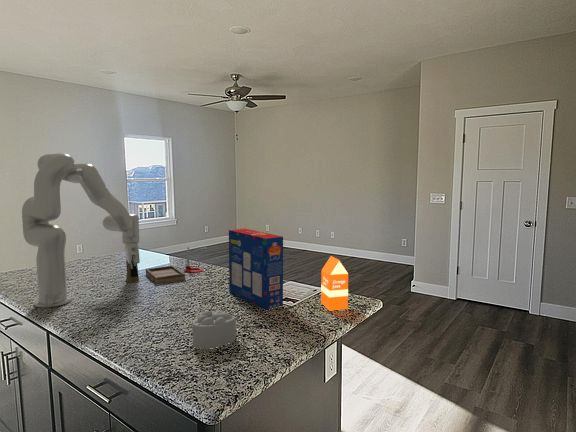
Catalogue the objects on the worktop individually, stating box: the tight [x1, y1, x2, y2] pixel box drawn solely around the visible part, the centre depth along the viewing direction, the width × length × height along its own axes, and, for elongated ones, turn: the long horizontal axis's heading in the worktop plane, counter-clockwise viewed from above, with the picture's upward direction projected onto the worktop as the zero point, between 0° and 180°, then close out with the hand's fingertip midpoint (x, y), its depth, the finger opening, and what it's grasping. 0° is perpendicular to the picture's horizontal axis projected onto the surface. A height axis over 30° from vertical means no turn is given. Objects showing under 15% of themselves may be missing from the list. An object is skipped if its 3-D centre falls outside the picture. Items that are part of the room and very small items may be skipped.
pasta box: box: [228, 228, 284, 311], centre depth 152 cm, size 28×8×28 cm, turn 39°
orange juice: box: [320, 255, 349, 311], centre depth 143 cm, size 8×9×20 cm
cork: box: [125, 260, 140, 284], centre depth 179 cm, size 6×6×11 cm
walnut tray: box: [145, 265, 186, 285], centre depth 186 cm, size 20×14×3 cm
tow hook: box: [183, 247, 204, 274], centre depth 199 cm, size 8×13×9 cm
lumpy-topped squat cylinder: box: [191, 309, 237, 349], centre depth 113 cm, size 10×13×9 cm
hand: (132, 274), depth 179 cm, fingers open, 9 cm apart
